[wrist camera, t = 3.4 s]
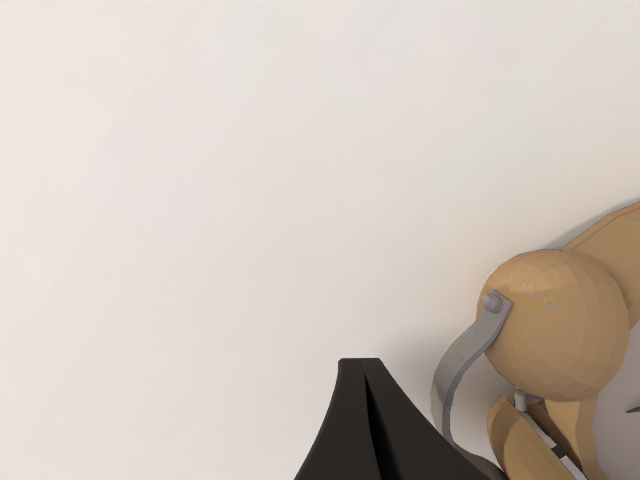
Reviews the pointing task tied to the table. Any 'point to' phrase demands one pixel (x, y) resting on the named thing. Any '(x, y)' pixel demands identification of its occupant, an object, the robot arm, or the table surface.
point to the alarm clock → (559, 357)
